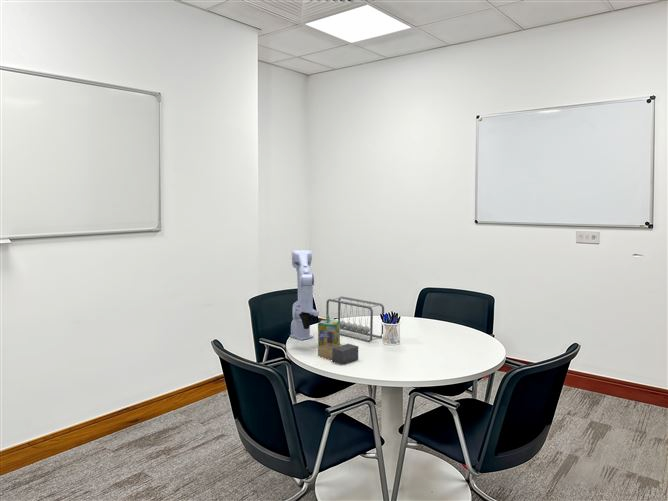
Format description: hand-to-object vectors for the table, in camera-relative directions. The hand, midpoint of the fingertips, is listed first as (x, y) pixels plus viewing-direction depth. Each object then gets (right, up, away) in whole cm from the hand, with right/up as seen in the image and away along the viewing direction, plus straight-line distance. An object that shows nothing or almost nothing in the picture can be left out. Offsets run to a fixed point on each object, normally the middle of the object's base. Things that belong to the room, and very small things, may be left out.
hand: (306, 328), depth 237 cm
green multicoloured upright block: (+11, -9, +6) cm, 15 cm away
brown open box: (+12, -11, -11) cm, 20 cm away
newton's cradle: (+23, -7, +25) cm, 34 cm away
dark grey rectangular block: (+16, -11, -14) cm, 24 cm away
